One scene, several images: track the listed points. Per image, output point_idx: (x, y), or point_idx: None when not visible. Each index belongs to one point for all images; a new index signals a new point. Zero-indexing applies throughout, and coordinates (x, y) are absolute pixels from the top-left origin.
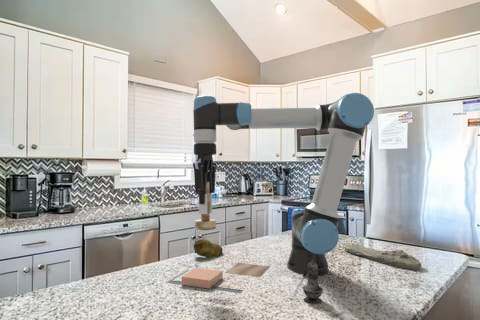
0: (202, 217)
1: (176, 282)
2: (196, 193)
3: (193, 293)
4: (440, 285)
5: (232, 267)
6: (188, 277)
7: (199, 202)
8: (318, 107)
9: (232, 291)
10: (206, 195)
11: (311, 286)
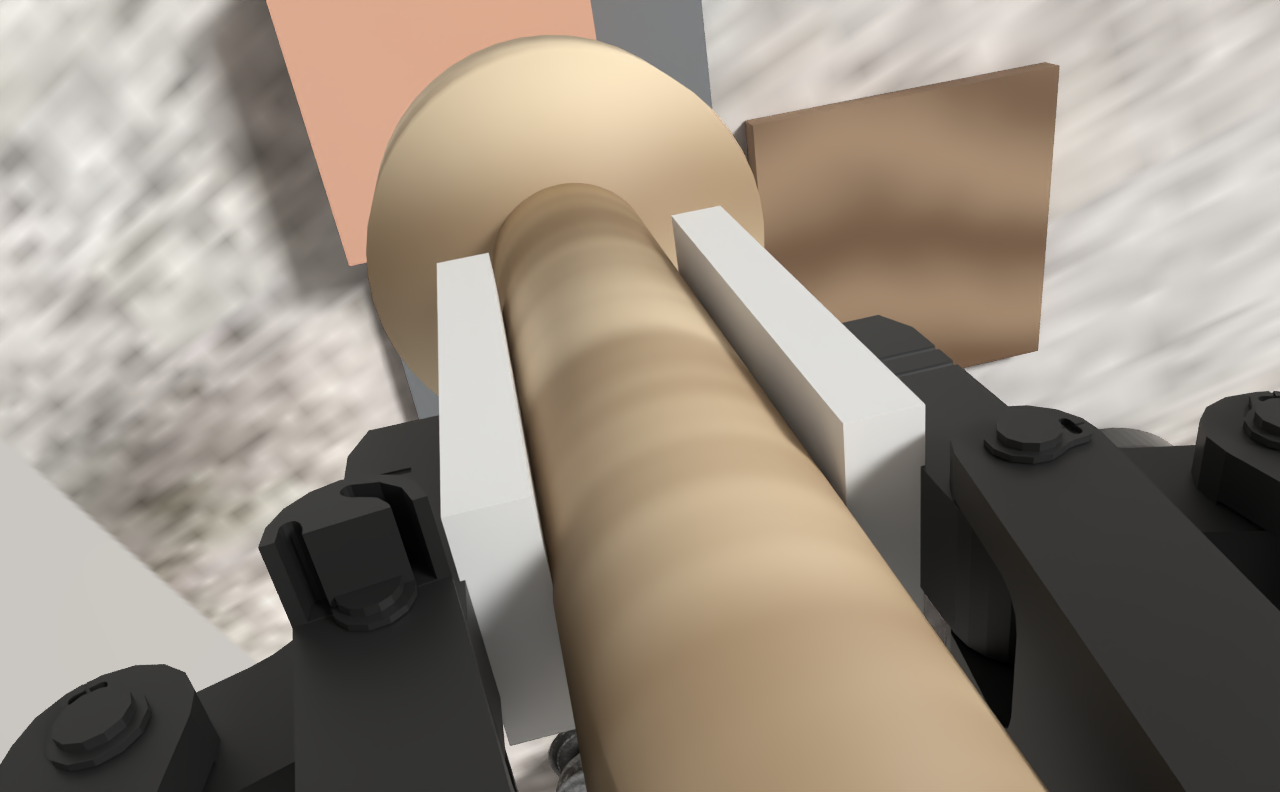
0: (498, 277)
1: None
2: (292, 536)
3: (243, 143)
4: None
5: (911, 99)
6: (282, 42)
7: (353, 465)
8: None
9: (422, 403)
10: (518, 716)
11: None
